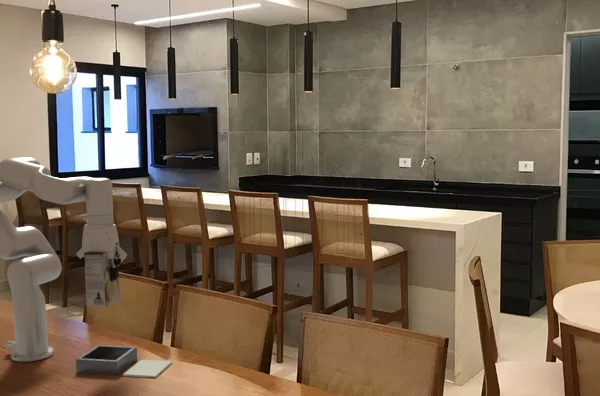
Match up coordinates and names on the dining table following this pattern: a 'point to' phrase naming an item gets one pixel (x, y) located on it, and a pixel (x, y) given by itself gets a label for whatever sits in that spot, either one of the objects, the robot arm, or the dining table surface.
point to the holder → (95, 365)
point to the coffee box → (100, 280)
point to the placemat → (147, 368)
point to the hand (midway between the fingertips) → (102, 279)
